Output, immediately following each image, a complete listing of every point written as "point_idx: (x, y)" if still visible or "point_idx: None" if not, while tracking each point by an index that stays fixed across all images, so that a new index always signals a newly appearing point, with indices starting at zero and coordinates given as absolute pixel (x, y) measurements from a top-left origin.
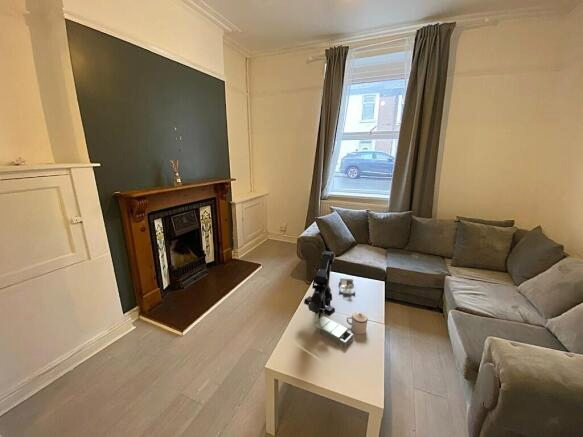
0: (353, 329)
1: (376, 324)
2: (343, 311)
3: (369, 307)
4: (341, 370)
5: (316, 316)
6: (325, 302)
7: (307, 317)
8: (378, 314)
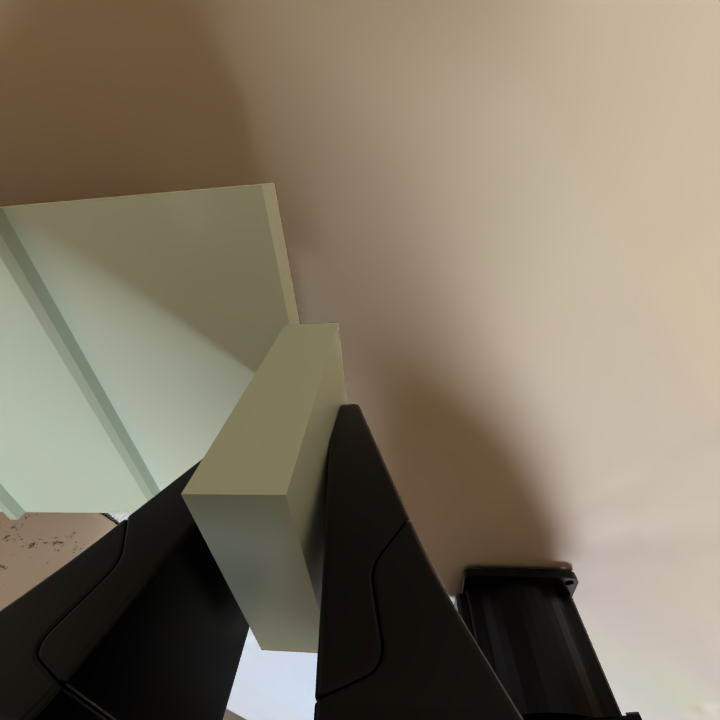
0: (30, 523)
1: None
2: None
3: (247, 690)
4: None
5: (282, 405)
6: (509, 682)
7: (606, 363)
8: None
